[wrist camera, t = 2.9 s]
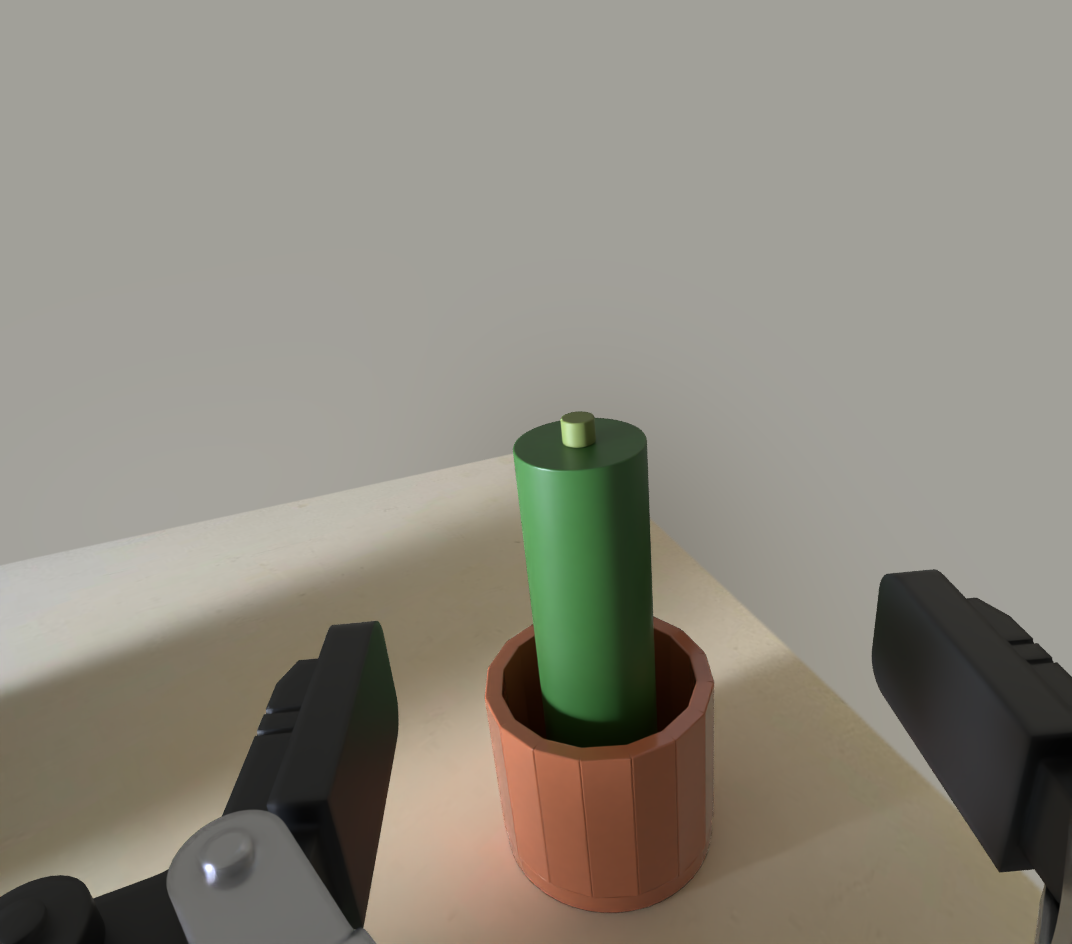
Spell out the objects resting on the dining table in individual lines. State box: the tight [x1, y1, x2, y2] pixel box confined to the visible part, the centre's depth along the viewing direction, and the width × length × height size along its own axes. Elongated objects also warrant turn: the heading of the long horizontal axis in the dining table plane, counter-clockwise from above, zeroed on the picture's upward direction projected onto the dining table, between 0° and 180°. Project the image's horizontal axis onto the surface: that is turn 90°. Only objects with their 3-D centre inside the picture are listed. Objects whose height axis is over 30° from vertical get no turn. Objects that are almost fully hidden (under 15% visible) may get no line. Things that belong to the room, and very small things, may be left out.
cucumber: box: [513, 412, 657, 748], centre depth 26 cm, size 4×4×16 cm
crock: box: [485, 616, 714, 913], centre depth 28 cm, size 8×8×7 cm
